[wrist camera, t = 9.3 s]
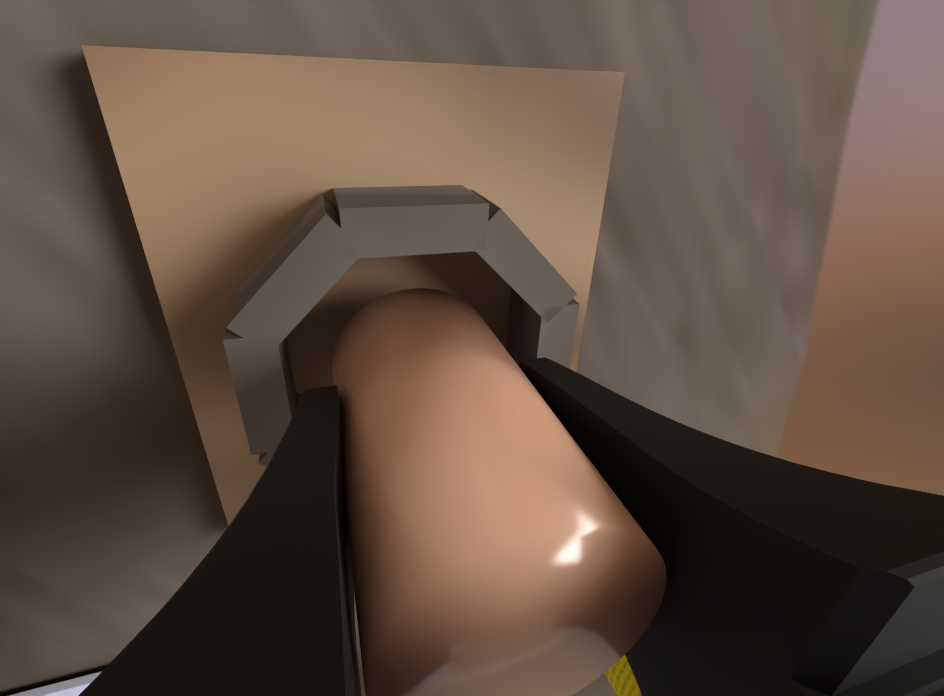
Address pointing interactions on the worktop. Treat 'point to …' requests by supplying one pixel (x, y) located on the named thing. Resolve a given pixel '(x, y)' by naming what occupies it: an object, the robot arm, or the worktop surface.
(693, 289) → the worktop surface
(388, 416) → the peach rounded peg
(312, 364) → the octagonal holder plate
